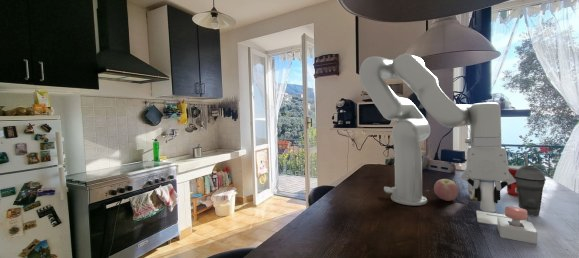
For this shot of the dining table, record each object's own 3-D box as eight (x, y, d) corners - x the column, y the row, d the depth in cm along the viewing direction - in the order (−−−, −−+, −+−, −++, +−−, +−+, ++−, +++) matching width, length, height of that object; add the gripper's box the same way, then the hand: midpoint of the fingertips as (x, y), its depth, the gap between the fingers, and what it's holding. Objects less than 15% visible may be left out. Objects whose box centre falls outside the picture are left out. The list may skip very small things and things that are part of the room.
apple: (431, 200, 96) (431, 179, 96) (437, 195, 101) (437, 176, 101) (455, 205, 90) (455, 183, 90) (460, 199, 96) (460, 179, 95)
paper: (477, 222, 76) (477, 220, 76) (476, 211, 84) (476, 210, 84) (532, 231, 69) (532, 229, 69) (524, 218, 77) (524, 217, 77)
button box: (500, 237, 66) (500, 226, 66) (497, 227, 72) (497, 217, 72) (536, 244, 62) (537, 232, 62) (530, 232, 68) (530, 222, 68)
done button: (506, 229, 67) (506, 210, 66) (504, 223, 70) (504, 205, 70) (528, 232, 64) (528, 213, 64) (525, 226, 68) (525, 208, 67)
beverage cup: (535, 219, 77) (535, 154, 76) (508, 210, 84) (509, 151, 83) (551, 216, 78) (552, 152, 78) (524, 208, 86) (524, 149, 85)
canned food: (540, 197, 95) (540, 168, 95) (518, 198, 96) (518, 169, 95) (521, 191, 103) (522, 165, 103) (502, 192, 103) (502, 165, 103)
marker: (480, 210, 78) (479, 173, 77) (479, 206, 81) (478, 171, 80) (496, 212, 76) (495, 174, 75) (494, 208, 79) (493, 172, 78)
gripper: (453, 143, 79) (455, 201, 80) (524, 144, 70) (525, 209, 70) (454, 141, 85) (455, 194, 86) (519, 141, 76) (520, 201, 76)
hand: (487, 200), depth 78 cm, fingers closed on marker, 3 cm apart
